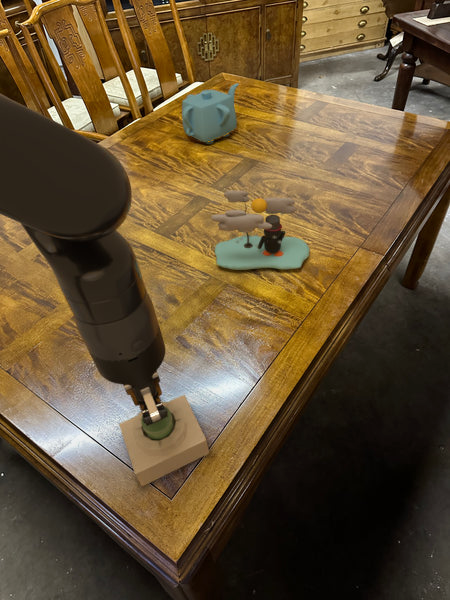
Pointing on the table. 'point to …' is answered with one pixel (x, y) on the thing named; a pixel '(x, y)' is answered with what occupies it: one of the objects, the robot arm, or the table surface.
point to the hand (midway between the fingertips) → (155, 416)
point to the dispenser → (164, 443)
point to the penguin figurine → (256, 249)
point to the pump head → (159, 427)
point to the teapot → (209, 114)
